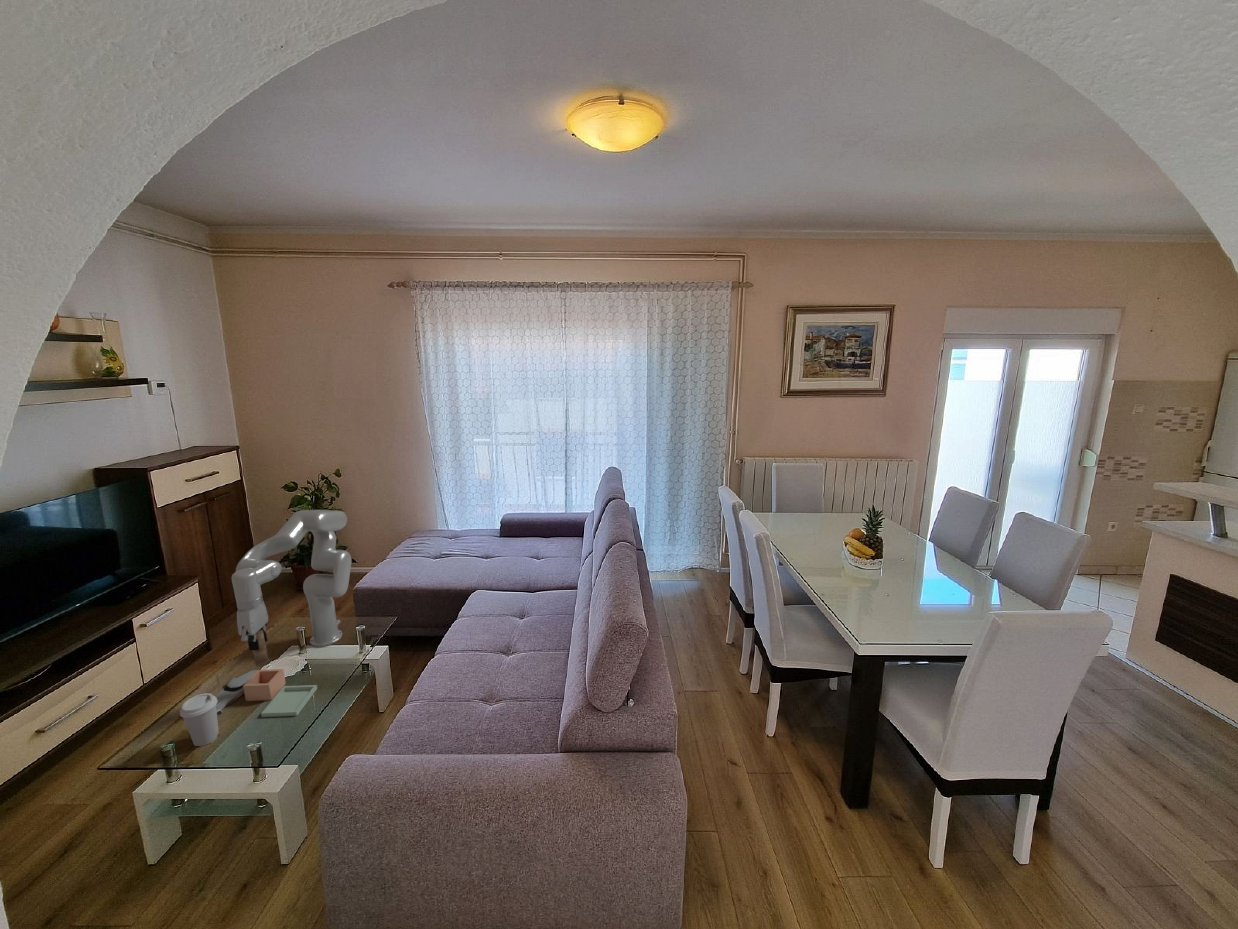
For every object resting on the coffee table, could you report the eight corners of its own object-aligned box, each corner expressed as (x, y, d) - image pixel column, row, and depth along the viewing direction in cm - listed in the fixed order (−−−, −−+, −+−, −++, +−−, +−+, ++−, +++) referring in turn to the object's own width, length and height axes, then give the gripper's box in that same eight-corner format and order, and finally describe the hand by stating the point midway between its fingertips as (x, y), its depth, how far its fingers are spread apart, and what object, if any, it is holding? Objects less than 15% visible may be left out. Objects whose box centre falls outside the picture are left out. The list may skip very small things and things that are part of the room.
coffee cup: (203, 753, 157) (194, 714, 154) (179, 747, 159) (170, 709, 156) (231, 730, 167) (223, 694, 163) (209, 725, 168) (200, 689, 165)
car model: (186, 720, 171) (183, 708, 170) (247, 675, 194) (245, 664, 193) (213, 725, 169) (211, 713, 168) (271, 678, 193) (269, 668, 191)
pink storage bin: (261, 686, 188) (258, 669, 186) (286, 685, 188) (283, 669, 187) (246, 703, 179) (243, 686, 177) (272, 702, 180) (268, 685, 178)
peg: (260, 659, 183) (254, 630, 179) (271, 659, 183) (265, 629, 180) (253, 667, 179) (246, 636, 175) (264, 666, 179) (258, 636, 176)
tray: (284, 691, 185) (283, 686, 185) (317, 690, 186) (316, 685, 186) (261, 719, 172) (260, 713, 171) (297, 718, 173) (296, 712, 172)
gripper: (254, 590, 182) (262, 632, 187) (222, 615, 166) (232, 660, 171) (275, 589, 182) (282, 632, 187) (245, 614, 166) (255, 660, 171)
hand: (258, 645), depth 179 cm, fingers closed on peg, 4 cm apart
